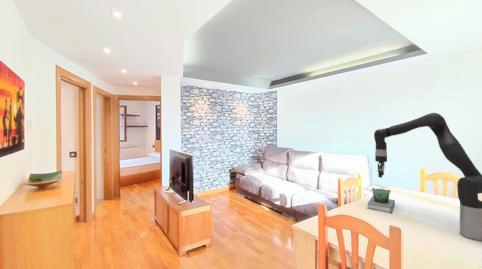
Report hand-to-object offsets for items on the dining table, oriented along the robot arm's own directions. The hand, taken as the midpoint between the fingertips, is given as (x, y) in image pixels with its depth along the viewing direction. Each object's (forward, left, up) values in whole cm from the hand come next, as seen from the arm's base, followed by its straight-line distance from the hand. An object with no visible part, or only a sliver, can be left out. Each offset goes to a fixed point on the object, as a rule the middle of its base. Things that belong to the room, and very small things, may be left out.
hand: (381, 176), depth 162 cm
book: (0, 0, -24) cm, 24 cm away
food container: (-1, 0, -20) cm, 20 cm away
